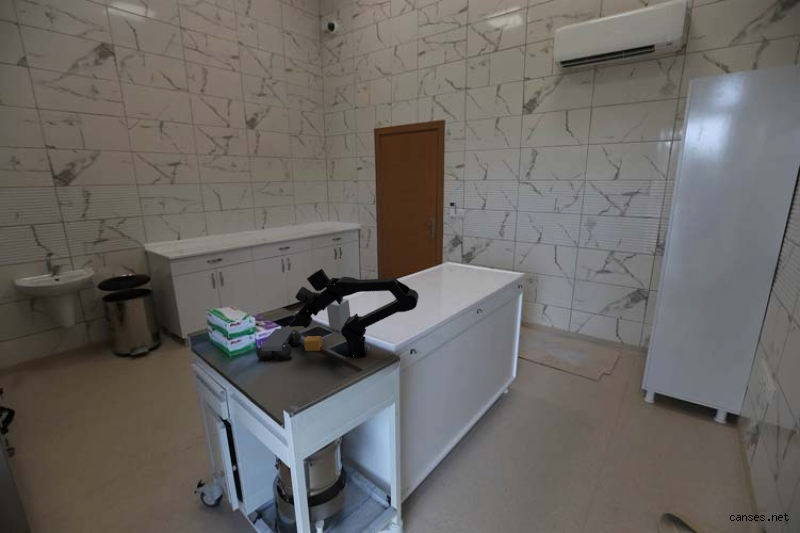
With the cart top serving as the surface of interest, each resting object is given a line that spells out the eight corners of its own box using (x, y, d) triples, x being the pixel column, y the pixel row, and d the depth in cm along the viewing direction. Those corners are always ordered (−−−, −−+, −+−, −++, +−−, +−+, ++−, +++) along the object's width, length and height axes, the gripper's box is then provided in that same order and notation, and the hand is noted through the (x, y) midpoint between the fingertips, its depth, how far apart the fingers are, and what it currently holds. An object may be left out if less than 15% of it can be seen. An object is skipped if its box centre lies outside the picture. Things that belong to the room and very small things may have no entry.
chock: (322, 345, 150) (321, 335, 149) (319, 350, 146) (318, 340, 145) (308, 346, 151) (306, 336, 149) (305, 351, 147) (303, 341, 145)
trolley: (302, 342, 154) (300, 328, 152) (290, 361, 140) (287, 345, 138) (272, 343, 155) (269, 329, 153) (257, 361, 141) (254, 346, 139)
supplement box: (352, 325, 167) (349, 299, 164) (341, 331, 161) (338, 305, 158) (339, 322, 171) (336, 297, 168) (328, 328, 165) (325, 302, 162)
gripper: (317, 273, 144) (289, 293, 149) (301, 294, 127) (270, 316, 132) (335, 294, 147) (306, 313, 152) (322, 317, 130) (290, 338, 134)
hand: (294, 319), depth 142 cm, fingers open, 9 cm apart
